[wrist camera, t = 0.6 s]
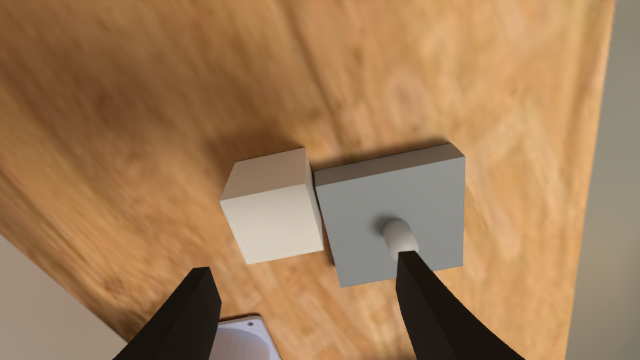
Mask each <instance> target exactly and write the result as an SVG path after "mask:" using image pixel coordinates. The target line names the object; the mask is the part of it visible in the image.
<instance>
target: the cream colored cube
mask: <svg viewBox="0 0 640 360" xmlns="http://www.w3.org/2000/svg"><path fill="white" fill-rule="evenodd" d="M219 203H220V205H221V207H222V209H223V212H224V214H225V216H226V218H227V221H228V223H229V225H230V227H231V230H232V232H233V234H234V236H235V239H236V241H237V243H238V245H239V248H240V250H241V252H242V254H243V256H244V259H245V261H246V263H247V265H248V264H253V263H258V262H264V261H269V260H274V259H279V258H285V257H290V256H295V255H300V254H306V253H311V252H316V251H322V250H324V249H323V236H322V224H321V211H320V204H319V200H318V196H317V192H316V188H315V184H314V180H313V176H312V172H311V168H310V165H309V161H308V157H307V153H306V149H305V148H300V149H295V150H291V151H286V152H281V153H277V154H272V155H267V156H262V157H258V158H253V159H248V160H244V161H239V162H235V164H234V166H233V169H232V171H231V173H230V176H229V178H228V180H227V183H226V185H225V188H224V190H223V192H222V195H221V197H220V199H219Z"/></svg>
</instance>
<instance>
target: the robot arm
mask: <svg viewBox="0 0 640 360" xmlns="http://www.w3.org/2000/svg"><path fill="white" fill-rule="evenodd" d="M396 293H397V297H398V302H399V306H400V310H401V314H402V317H403V320H404V323H405V326H406V329H407V332H408V335H409V337H410V340H411V343H412V346H413V349H414V352H415V354H416V357H417V360H525V359H524V358H523V357H521V356H520V355H519V354H518V353H516V352H515V351H514V350H513V349H511V348H510V347H509V346H508V345H507V344H505V343H504V342H503V341H502V340H500V339H499V338H498V337H497V336H496V335H495V334H494V333H492V332H491V331H490V330H489V329H488V328H487V327H486V326H485V325H483V324H482V323H481V322H480V321H479V320H478V319H477V318H476V317H475V316H474V315H473V314H472V313H471V312H470V311H469V310H468V309H467V308H466V307H465V306H464V305H463V304H462V303H461V302H460V301H459V300H458V299H457V298H456V297H455V296H454V295H453V294H452V293H451V292H450V291H449V290H448V288H447V287H446V286H445V285H444V284H443V283H442V282H441V281H440V280H439V278H438V277H437V276H436V275H435V274H434V273H433V271H432V270H431V269H430V268H429V267H428V266H427V264H426V263H425V262H424V261H423V259H422V258H421V257H420V256H419V254H418V253H417V252H416V251H415V250H413V251H400V252H398V263H397V276H396ZM221 304H222V302H221V299H220V296H219V293H218V290H217V287H216V285H215V282H214V279H213V276H212V273H211V270H210V267H199V268H193V269H192V270H191V271H190V272H189V274H188V275H187V276H186V277H185V278H184V280H183V281H182V282H181V283H180V285H179V286H178V287H177V288H176V290H175V291H174V292H173V293H172V294H171V296H170V297H169V298H168V299H167V301H166V302H165V303H164V304H163V305H162V306H161V308H160V309H159V310H158V311H157V312H156V313H155V315H154V316H153V317H152V318H151V319H150V320H149V322H148V323H147V324H146V325H145V326H144V327H143V328H142V329H141V330H140V331H139V333H138V334H137V335H136V336H135V337H134V338H133V339H132V340H131V341H130V342H129V343H128V344H127V345H126V347H125V348H124V349H123V350H122V351H121V352H120V353H119V354H118V355H117V356H116V357H115V358H114V359H113V360H281V358H280V356H279V353H278V351H277V349H276V347H275V345H274V343H273V341H272V338H271V336H270V334H269V332H268V330H267V328H266V326H265V324H264V321H263V319H262V318H261V317H260V316H251V317H245V318H240V319H234V320H229V321H223V322H219V317H220V310H221Z"/></svg>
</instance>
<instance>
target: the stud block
mask: <svg viewBox="0 0 640 360" xmlns="http://www.w3.org/2000/svg"><path fill="white" fill-rule="evenodd" d="M314 174H315V188H316V192H317V195H318V199H319V203H320V207H321V211H322V215H323V219H324V223H325V227H326V231H327V235H328V239H329V243H330V247H331V251H332V254H333V258H334V262H335V266H336V270H337V274H338V278H339V282H340V286H341V288H343V287H349V286H354V285H360V284H365V283H371V282H376V281H382V280H387V279H393V278H396V276H397V263H398V252H400V251H413V250H415V251H416V252H417V253H418V254H419V256H420V257H421V258H422V259H423V261H424V262H425V263H426V264H427V266H428V267H429V268H430V269H431V270H432V271H437V270H442V269H448V268H453V267H459V266H463V233H464V192H465V156H464V155H463V154H462V153H461V152H460V151H459V150H458V149H457V148H456V147H455V146H454V145H453V144H452V143H449V144H444V145H439V146H435V147H430V148H425V149H420V150H415V151H410V152H405V153H401V154H396V155H391V156H386V157H381V158H376V159H372V160H367V161H362V162H357V163H352V164H347V165H343V166H338V167H333V168H328V169H323V170H318V171H314Z"/></svg>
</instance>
